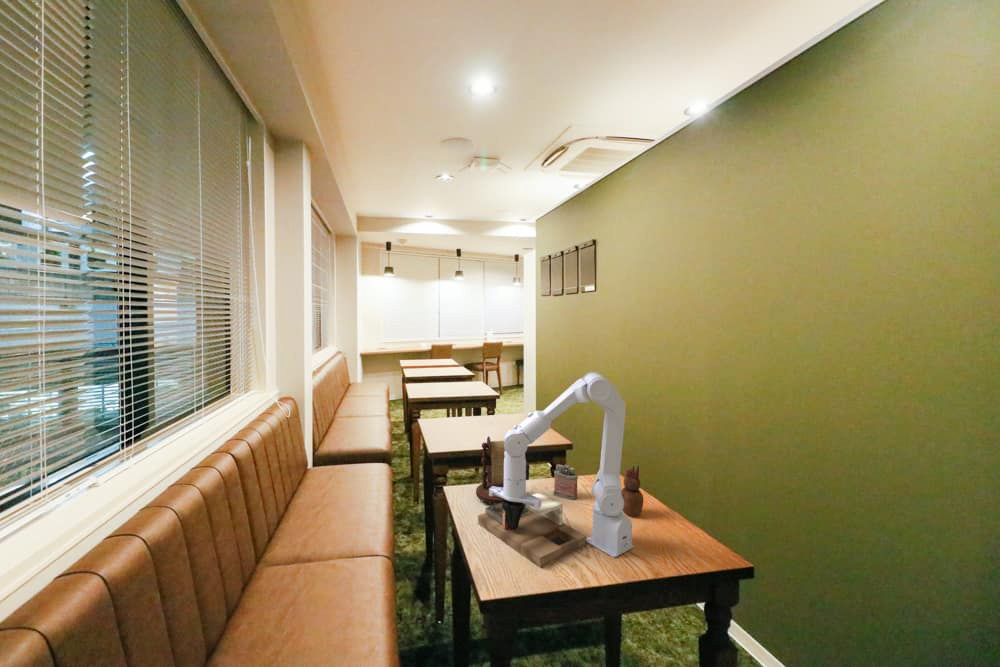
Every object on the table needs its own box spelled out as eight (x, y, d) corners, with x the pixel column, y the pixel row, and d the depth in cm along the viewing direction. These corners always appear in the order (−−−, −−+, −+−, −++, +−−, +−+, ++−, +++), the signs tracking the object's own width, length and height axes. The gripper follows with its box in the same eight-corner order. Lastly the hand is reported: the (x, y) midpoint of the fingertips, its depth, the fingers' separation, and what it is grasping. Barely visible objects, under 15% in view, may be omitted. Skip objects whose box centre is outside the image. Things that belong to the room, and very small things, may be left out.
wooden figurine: (646, 517, 124) (648, 466, 123) (630, 520, 122) (632, 469, 121) (631, 507, 130) (632, 459, 129) (616, 510, 128) (617, 461, 127)
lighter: (579, 497, 137) (579, 466, 136) (575, 501, 134) (575, 470, 134) (556, 491, 141) (556, 461, 141) (551, 495, 138) (552, 465, 138)
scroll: (479, 510, 127) (480, 444, 126) (473, 489, 142) (473, 430, 141) (527, 506, 130) (528, 442, 129) (516, 486, 145) (516, 428, 144)
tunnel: (586, 545, 109) (586, 514, 108) (540, 567, 99) (540, 534, 98) (521, 508, 129) (521, 482, 128) (478, 523, 119) (478, 495, 119)
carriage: (537, 516, 118) (537, 502, 118) (504, 529, 111) (505, 514, 111) (514, 503, 126) (514, 489, 126) (482, 514, 119) (482, 500, 119)
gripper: (547, 477, 109) (546, 529, 110) (499, 466, 117) (498, 514, 117) (534, 487, 103) (533, 541, 104) (484, 474, 111) (484, 525, 111)
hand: (514, 528), depth 110 cm, fingers closed
